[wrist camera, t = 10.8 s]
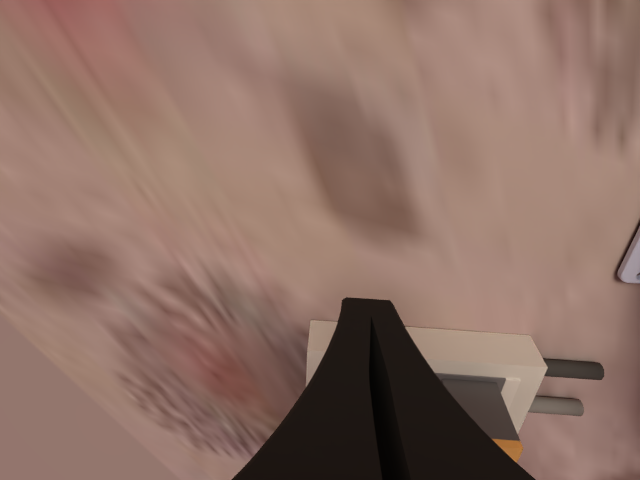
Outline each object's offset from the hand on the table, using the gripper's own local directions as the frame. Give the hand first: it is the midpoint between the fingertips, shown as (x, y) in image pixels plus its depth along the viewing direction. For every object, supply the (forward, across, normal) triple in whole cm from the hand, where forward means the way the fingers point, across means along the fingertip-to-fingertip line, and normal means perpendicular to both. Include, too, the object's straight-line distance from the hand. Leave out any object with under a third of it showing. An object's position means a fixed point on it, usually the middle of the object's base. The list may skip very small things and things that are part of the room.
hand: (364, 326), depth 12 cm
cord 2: (+10, -13, +14) cm, 21 cm away
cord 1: (+10, -13, +10) cm, 19 cm away
